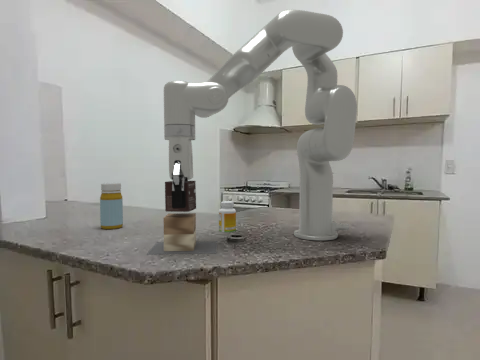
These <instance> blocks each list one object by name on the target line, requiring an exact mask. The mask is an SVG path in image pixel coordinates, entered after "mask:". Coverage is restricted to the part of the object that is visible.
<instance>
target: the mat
mask: <svg viewBox="0 0 480 360" xmlns="http://www.w3.org/2000/svg"><path fill="white" fill-rule="evenodd" d="M217 248H218V241H217V240H216V241H215V240H213V241H212V240H209V241H207V240H206V241H205V240H204V241H202V240H201V241H197V240H196V245H195V248H194V251H164V241H157V242H156V243H155V244H154V245H153V246H152V248H151V249H150V250H148V252H147V253H146V255H147V256H148V255H151V256H152V255H203V254H204V255H205V254H207V255H208V254H209V255H210V254H217V250H218V249H217Z"/></svg>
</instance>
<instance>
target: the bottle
mask: <svg viewBox="0 0 480 360" xmlns="http://www.w3.org/2000/svg"><path fill="white" fill-rule="evenodd" d="M121 189H122V184H121V182H107V183H105V182H104V183H101V184H100V190H101V191H100V192H101V194H100V197H99V208H100V209H99V218H100V219H99V220H100V223H99V224H100V228H101V229H102V230H117V229H121V228H122V227H123V226H124V216H123V215H124V210H123V208H124V207H123V200H124V199H123V195H122V190H121Z"/></svg>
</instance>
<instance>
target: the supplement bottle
mask: <svg viewBox="0 0 480 360" xmlns="http://www.w3.org/2000/svg"><path fill="white" fill-rule="evenodd" d="M234 204H235V201H231V200H227V201H226V200H223V201H221V202H220V206H221V208H219V209H218V232H220V233H235V232H236V231H237V211H236V208H234V207H235V205H234Z"/></svg>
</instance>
